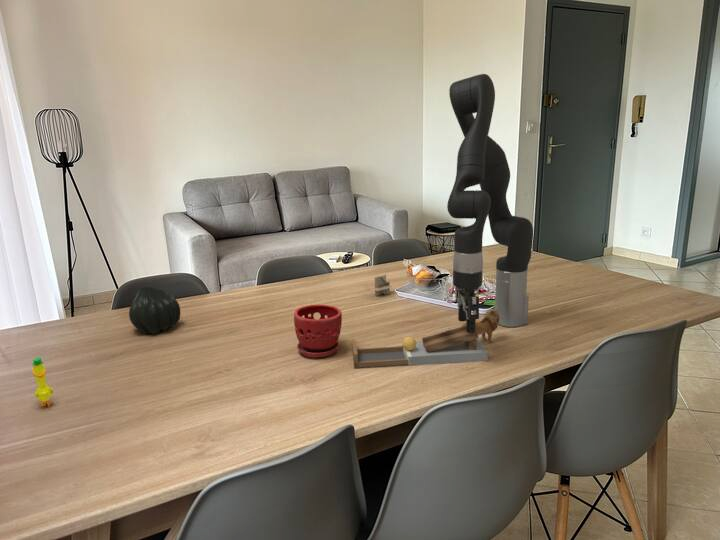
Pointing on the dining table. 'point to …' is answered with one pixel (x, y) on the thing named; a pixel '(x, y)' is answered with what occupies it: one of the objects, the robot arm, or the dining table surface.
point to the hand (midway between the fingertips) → (466, 326)
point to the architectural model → (381, 285)
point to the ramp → (450, 339)
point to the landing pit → (378, 357)
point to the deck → (445, 354)
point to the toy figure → (41, 382)
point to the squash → (154, 310)
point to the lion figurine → (487, 324)
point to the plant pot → (317, 330)
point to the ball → (409, 343)
